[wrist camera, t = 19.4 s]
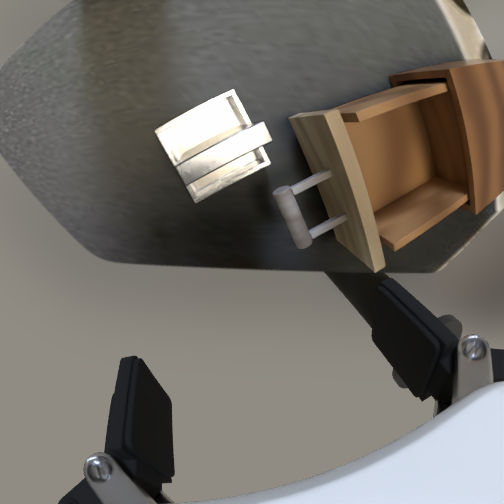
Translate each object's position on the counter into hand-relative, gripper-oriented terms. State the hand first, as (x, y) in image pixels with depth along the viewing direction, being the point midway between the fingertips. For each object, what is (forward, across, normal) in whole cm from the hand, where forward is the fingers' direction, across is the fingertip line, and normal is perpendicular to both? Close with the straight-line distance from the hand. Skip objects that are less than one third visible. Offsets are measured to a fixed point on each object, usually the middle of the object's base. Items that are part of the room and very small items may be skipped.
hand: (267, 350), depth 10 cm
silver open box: (+18, -1, -6) cm, 19 cm away
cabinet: (+18, -30, -6) cm, 36 cm away
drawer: (+17, -14, -2) cm, 22 cm away
